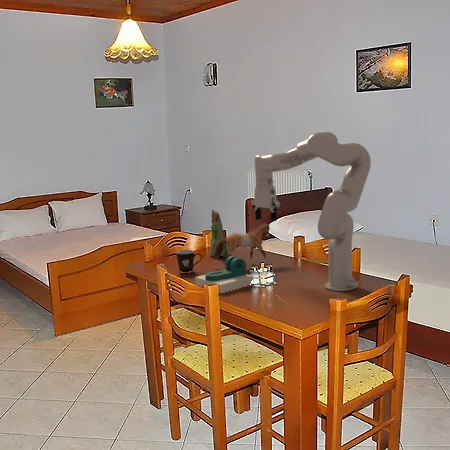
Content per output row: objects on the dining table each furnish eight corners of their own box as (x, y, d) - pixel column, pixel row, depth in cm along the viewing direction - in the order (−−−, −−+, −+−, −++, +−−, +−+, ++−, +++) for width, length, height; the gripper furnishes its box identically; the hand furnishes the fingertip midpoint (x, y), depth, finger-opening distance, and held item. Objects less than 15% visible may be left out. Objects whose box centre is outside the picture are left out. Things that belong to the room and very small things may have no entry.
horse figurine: (270, 261, 283) (269, 221, 280) (275, 264, 276) (274, 223, 272) (211, 268, 275) (208, 227, 272) (215, 272, 268) (212, 230, 264)
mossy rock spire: (222, 259, 293) (219, 212, 288) (203, 257, 299) (200, 211, 295) (233, 254, 302) (231, 209, 297) (215, 252, 308) (212, 208, 304)
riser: (253, 284, 243) (253, 276, 243) (221, 294, 232) (220, 284, 232) (227, 277, 257) (227, 269, 257) (195, 285, 246) (195, 277, 246)
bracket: (238, 271, 251) (237, 254, 250) (246, 274, 245) (245, 257, 244) (202, 278, 243) (201, 261, 241) (209, 282, 237) (208, 264, 235)
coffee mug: (174, 273, 269) (173, 253, 267) (182, 269, 277) (180, 249, 275) (196, 274, 265) (195, 254, 263) (203, 270, 273) (202, 250, 271)
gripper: (284, 182, 246) (286, 220, 249) (256, 181, 259) (258, 217, 261) (272, 184, 241) (274, 223, 244) (244, 182, 254) (247, 220, 257)
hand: (266, 220), depth 253 cm, fingers open, 9 cm apart
